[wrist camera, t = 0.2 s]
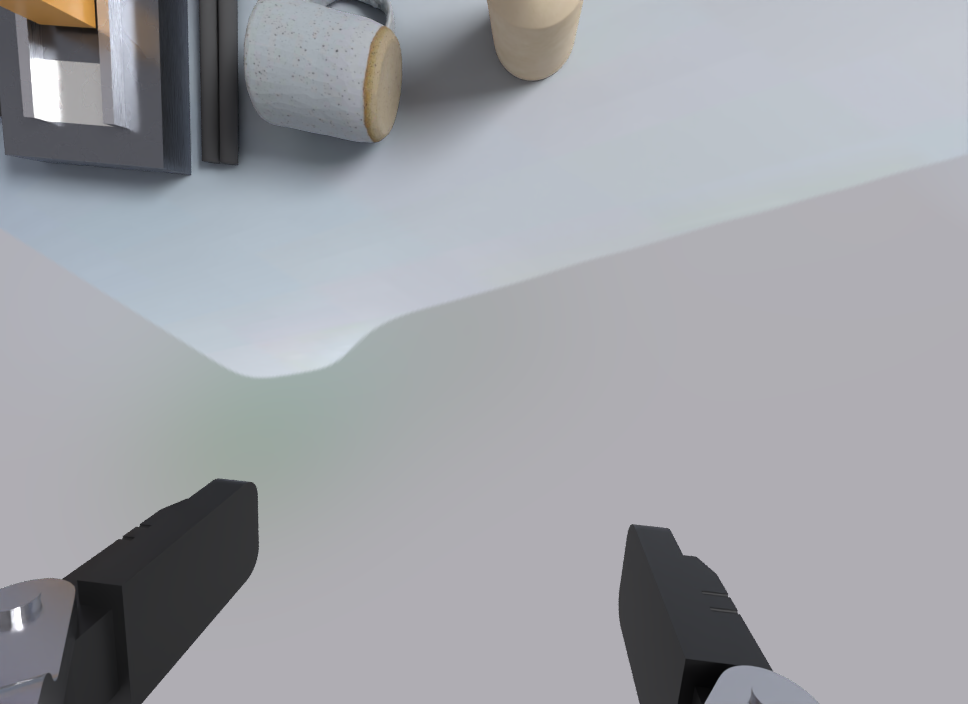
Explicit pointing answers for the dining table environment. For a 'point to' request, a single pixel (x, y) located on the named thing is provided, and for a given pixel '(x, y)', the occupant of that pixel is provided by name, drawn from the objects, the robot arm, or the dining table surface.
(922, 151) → the dining table surface
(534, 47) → the candle
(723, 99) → the dining table surface
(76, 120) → the panel
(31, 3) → the lever
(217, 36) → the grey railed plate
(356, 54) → the ceramic mug
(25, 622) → the robot arm
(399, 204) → the dining table surface
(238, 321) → the dining table surface
